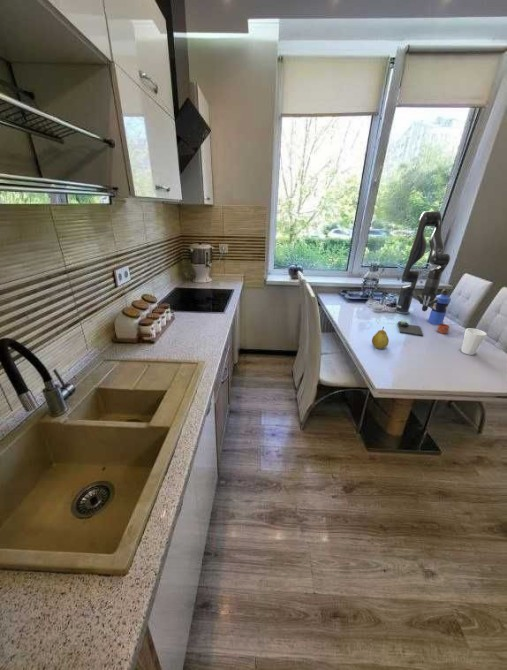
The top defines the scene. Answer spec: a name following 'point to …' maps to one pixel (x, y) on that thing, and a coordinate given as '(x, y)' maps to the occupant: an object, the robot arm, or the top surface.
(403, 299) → the robot arm
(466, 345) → the foam cup
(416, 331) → the scale
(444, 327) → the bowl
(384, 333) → the fruit
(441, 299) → the water bottle
